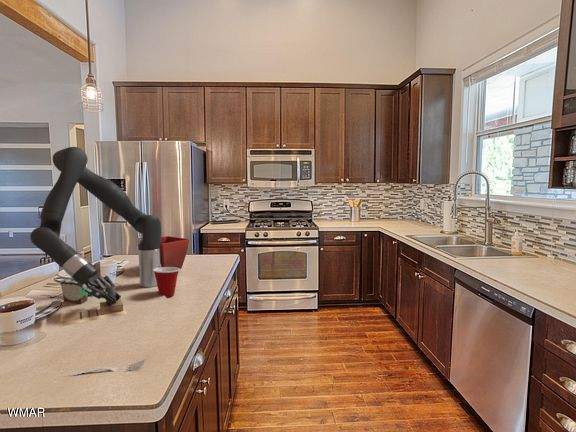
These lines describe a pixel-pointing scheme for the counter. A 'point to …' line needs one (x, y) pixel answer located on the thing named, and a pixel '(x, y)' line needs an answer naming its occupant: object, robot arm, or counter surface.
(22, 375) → the counter surface
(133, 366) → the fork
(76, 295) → the food container
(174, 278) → the plastic cup
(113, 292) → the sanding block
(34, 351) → the counter surface
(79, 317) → the oak board
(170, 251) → the plant pot
